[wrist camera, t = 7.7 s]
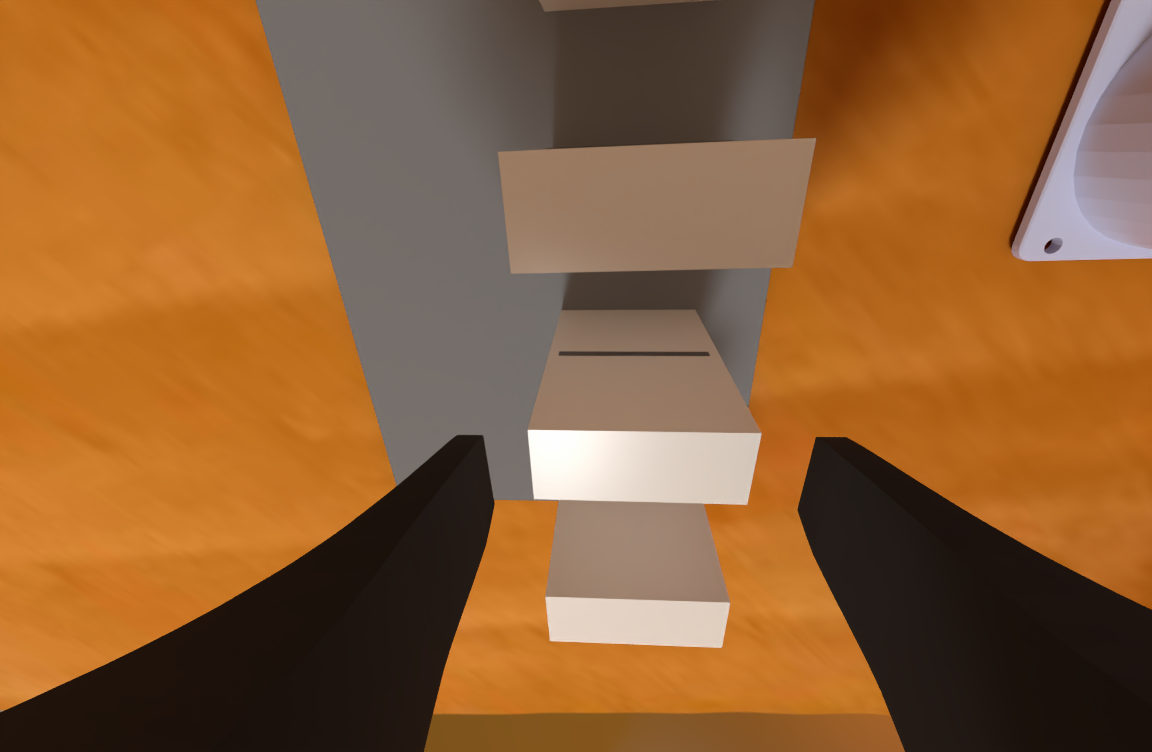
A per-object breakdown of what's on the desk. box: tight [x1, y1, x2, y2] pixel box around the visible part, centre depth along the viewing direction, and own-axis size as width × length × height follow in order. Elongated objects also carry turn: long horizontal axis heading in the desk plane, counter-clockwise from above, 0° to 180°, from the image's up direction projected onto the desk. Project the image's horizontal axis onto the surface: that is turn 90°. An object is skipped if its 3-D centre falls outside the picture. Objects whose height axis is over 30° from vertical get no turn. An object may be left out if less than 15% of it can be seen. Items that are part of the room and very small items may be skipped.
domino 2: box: [528, 310, 762, 505], centre depth 14 cm, size 2×5×8 cm, turn 91°
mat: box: [256, 0, 815, 501], centre depth 16 cm, size 16×26×1 cm, turn 2°
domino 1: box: [498, 138, 816, 274], centre depth 11 cm, size 2×5×8 cm, turn 93°
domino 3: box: [546, 500, 730, 648], centre depth 16 cm, size 2×5×8 cm, turn 92°
